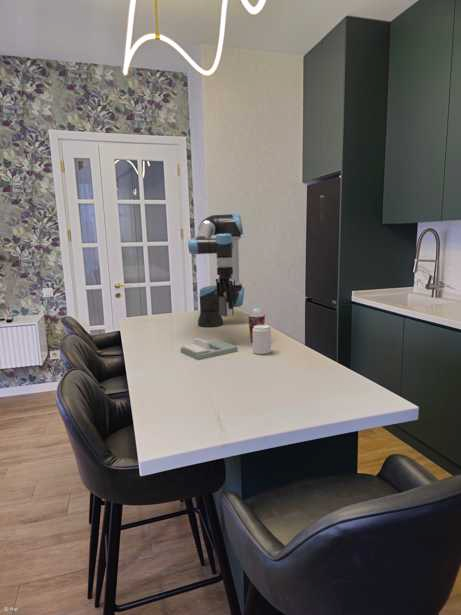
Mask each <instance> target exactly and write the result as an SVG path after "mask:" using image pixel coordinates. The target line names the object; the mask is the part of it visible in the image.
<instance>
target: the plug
mask: <svg viewBox="0 0 461 615" xmlns="http://www.w3.org/2000/svg"><path fill="white" fill-rule="evenodd" d="M226 301H228V300H227V295H226V292H225V293H224V296H222V297H219V315H221V317H225V318H226V317H228V316H227V302H226ZM232 306H233V302H232ZM234 308H235V307H233V308H232V315H230V316H234V314H235V312H234V311H235V310H234ZM230 316H229V317H230Z"/></svg>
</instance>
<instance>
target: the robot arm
mask: <svg viewBox="0 0 461 615" xmlns="http://www.w3.org/2000/svg"><path fill="white" fill-rule="evenodd" d="M197 230H198V232H197V235H196V236H195V238H189V240H188V243H187V244H188V245H187V246H188V252H189V253H190V255H203V254H205V255H207V254H209V255H210V254H216V275H217V276H219V277H218V278H215V283H216V285H208V286H204V287H201V288H200V289H199V295H198V296H199V308H200V310H199V316H198V320H197V326H198V327H200V328H215V327H220V326H221V327H222V326H223V325H224V321H223V316H221V315H219V297H222V296H224V293H225V292H226V295H227V300H228V301H226V302H227V316H226V317H230V315H232V308H233V307H234V308H238V307H239V308H240V307H242V306H243V304H244V298H245V297H244V295H245V287H244V286H243V284H242V282H240V264H239V263H240V259H239V241H240V239H241V238H242V235H244V230H243V223H242V218H241V215H239V214H233V213H231V214H213V215H210V216H207V217H206V218H204V219H203V220H202V221H201V222H200V223H199V225H198V229H197ZM212 236H215V238H214V237H213V238H212ZM232 302H233V306H232ZM232 316H233V315H232Z"/></svg>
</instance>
